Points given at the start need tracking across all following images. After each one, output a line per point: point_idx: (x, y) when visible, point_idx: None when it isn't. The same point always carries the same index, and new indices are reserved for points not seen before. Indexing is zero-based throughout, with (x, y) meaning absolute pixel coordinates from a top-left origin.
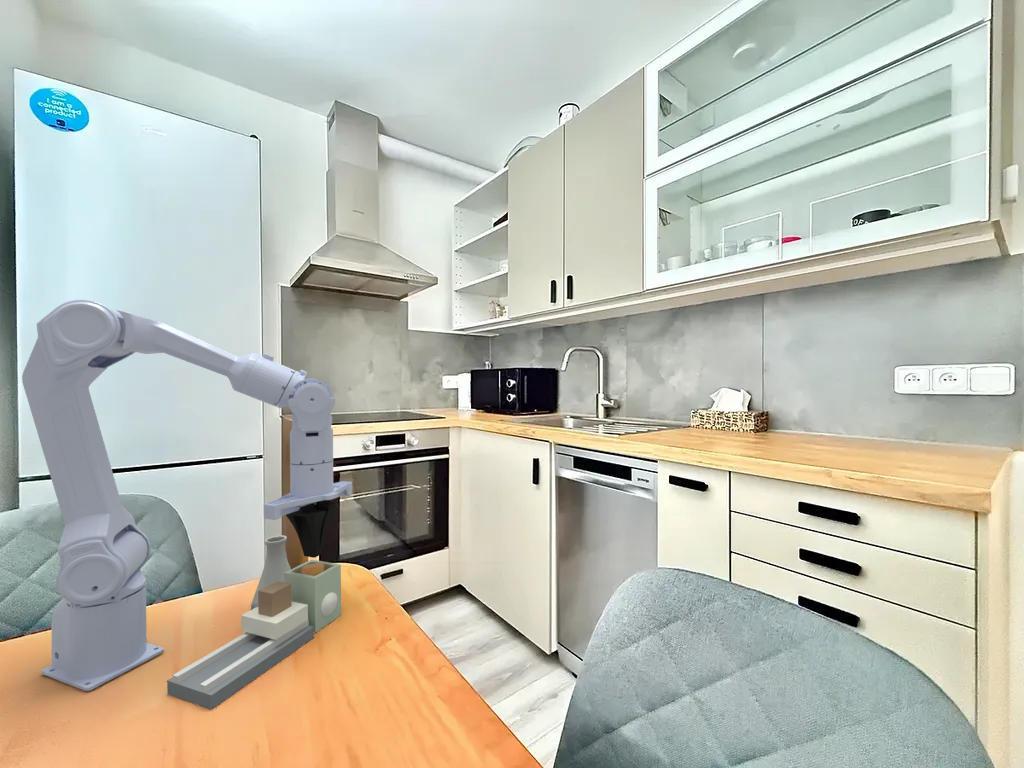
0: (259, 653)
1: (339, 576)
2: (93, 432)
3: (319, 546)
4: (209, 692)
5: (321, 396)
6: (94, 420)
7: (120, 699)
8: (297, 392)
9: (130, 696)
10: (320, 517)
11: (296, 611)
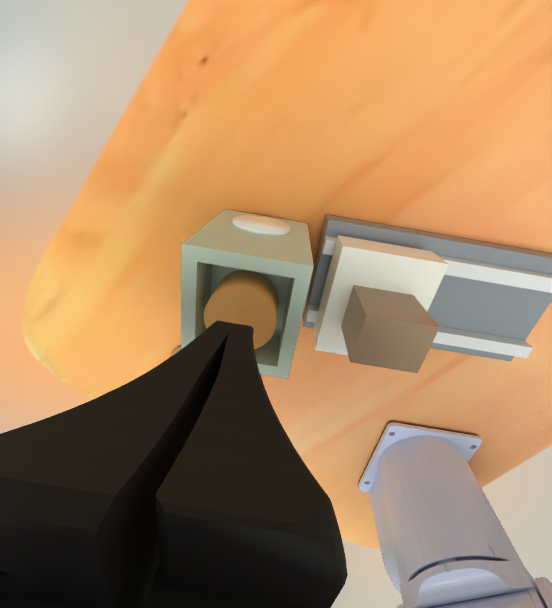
0: (459, 261)
1: (201, 234)
2: None
3: (229, 338)
4: None
5: None
6: None
7: (498, 393)
8: None
9: (493, 387)
10: (232, 469)
11: (381, 253)
